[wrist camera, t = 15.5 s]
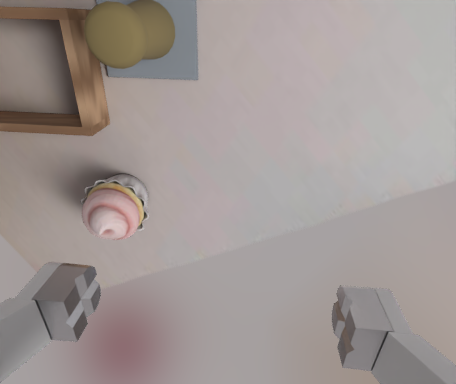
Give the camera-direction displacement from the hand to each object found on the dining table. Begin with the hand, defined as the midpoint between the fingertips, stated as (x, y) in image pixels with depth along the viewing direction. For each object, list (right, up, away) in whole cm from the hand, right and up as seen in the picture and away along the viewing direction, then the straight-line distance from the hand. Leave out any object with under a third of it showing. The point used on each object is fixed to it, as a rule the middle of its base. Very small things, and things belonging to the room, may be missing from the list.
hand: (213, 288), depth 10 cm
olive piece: (-8, +21, +24) cm, 33 cm away
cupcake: (-14, +3, +36) cm, 39 cm away
